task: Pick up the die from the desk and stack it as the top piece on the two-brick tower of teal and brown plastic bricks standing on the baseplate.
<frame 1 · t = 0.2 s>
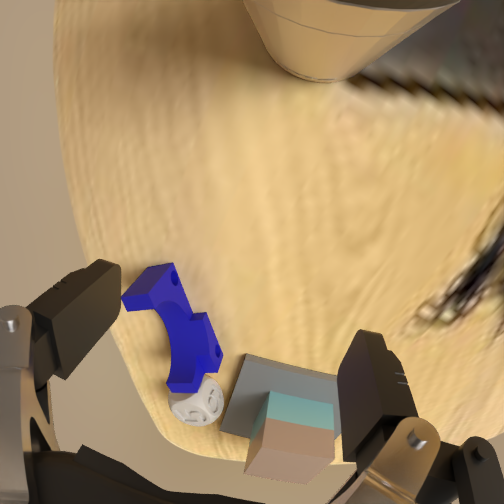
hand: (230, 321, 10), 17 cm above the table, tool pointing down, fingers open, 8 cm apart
brick tower: (291, 410, 36), on the table
die: (201, 384, 37), on the table
blue saddle bracket: (187, 312, 32), on the table
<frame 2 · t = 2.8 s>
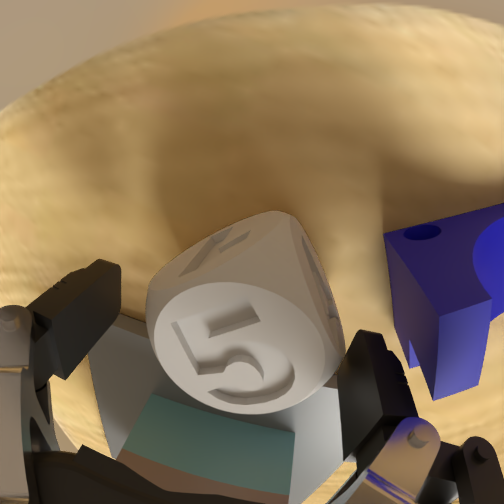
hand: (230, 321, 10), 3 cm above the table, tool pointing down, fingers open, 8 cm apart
brick tower: (216, 438, 17), on the table
die: (260, 276, 13), on the table
blue saddle bracket: (500, 247, 11), on the table, touching gripper
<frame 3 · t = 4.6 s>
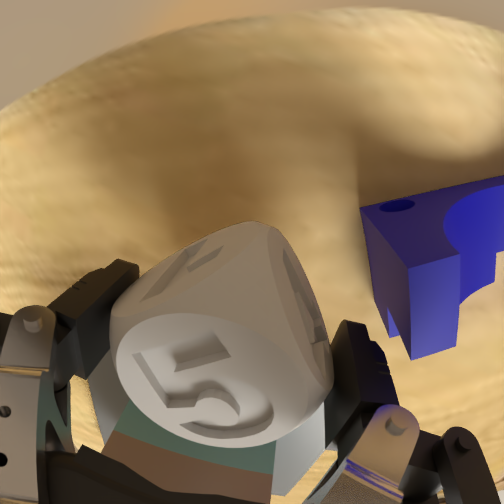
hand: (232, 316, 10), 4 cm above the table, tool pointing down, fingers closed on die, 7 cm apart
brick tower: (204, 423, 18), on the table
die: (241, 291, 11), point 2 cm above the table, touching gripper
blue saddle bracket: (477, 225, 12), on the table
when the fingers open (11 cm above the table, at t = 9.1 s): die stays where it is, resting on brick tower.
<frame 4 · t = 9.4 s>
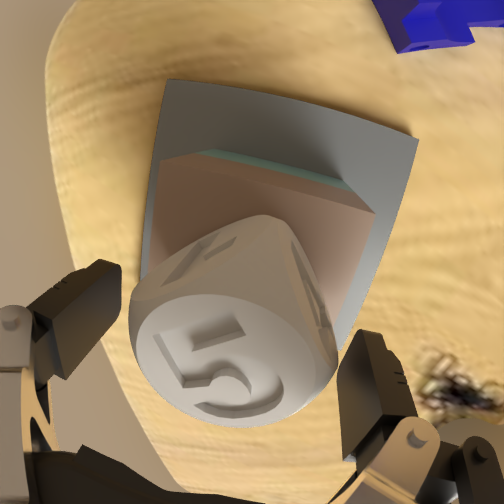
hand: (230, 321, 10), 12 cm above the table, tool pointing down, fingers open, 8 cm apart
brick tower: (265, 220, 20), on the table
die: (250, 282, 12), point 9 cm above the table, touching brick tower
blue saddle bracket: (452, 19, 13), on the table
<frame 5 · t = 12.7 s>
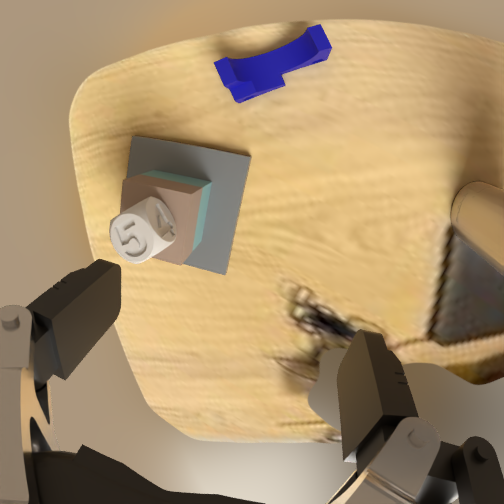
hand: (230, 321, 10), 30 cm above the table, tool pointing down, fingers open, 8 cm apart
brick tower: (180, 203, 40), on the table
die: (153, 222, 32), point 9 cm above the table, touching brick tower
blue saddle bracket: (278, 70, 33), on the table
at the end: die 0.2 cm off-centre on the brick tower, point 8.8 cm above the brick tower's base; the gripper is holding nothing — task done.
